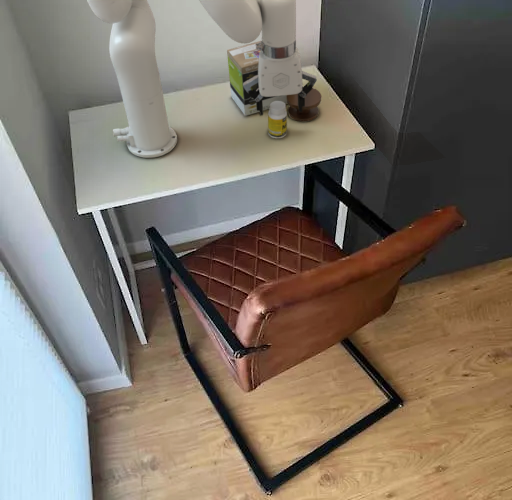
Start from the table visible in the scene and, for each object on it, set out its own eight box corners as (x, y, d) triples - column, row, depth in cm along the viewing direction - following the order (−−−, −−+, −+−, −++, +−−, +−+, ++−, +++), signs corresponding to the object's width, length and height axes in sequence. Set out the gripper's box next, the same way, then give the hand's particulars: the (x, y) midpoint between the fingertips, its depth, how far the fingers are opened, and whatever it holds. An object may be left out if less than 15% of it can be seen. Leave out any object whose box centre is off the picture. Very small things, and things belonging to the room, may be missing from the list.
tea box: (279, 83, 162) (279, 34, 150) (295, 102, 155) (297, 52, 144) (229, 97, 158) (226, 47, 147) (244, 117, 152) (241, 67, 141)
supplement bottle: (285, 140, 145) (285, 112, 139) (266, 138, 146) (266, 110, 139) (288, 128, 148) (288, 100, 142) (270, 126, 149) (269, 98, 143)
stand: (288, 124, 149) (288, 107, 146) (284, 103, 155) (284, 87, 152) (322, 121, 150) (324, 105, 146) (317, 101, 156) (318, 85, 152)
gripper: (241, 58, 126) (246, 122, 139) (320, 51, 127) (317, 116, 139) (239, 41, 131) (244, 104, 144) (315, 34, 131) (313, 98, 144)
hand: (280, 110), depth 142 cm, fingers open, 9 cm apart
